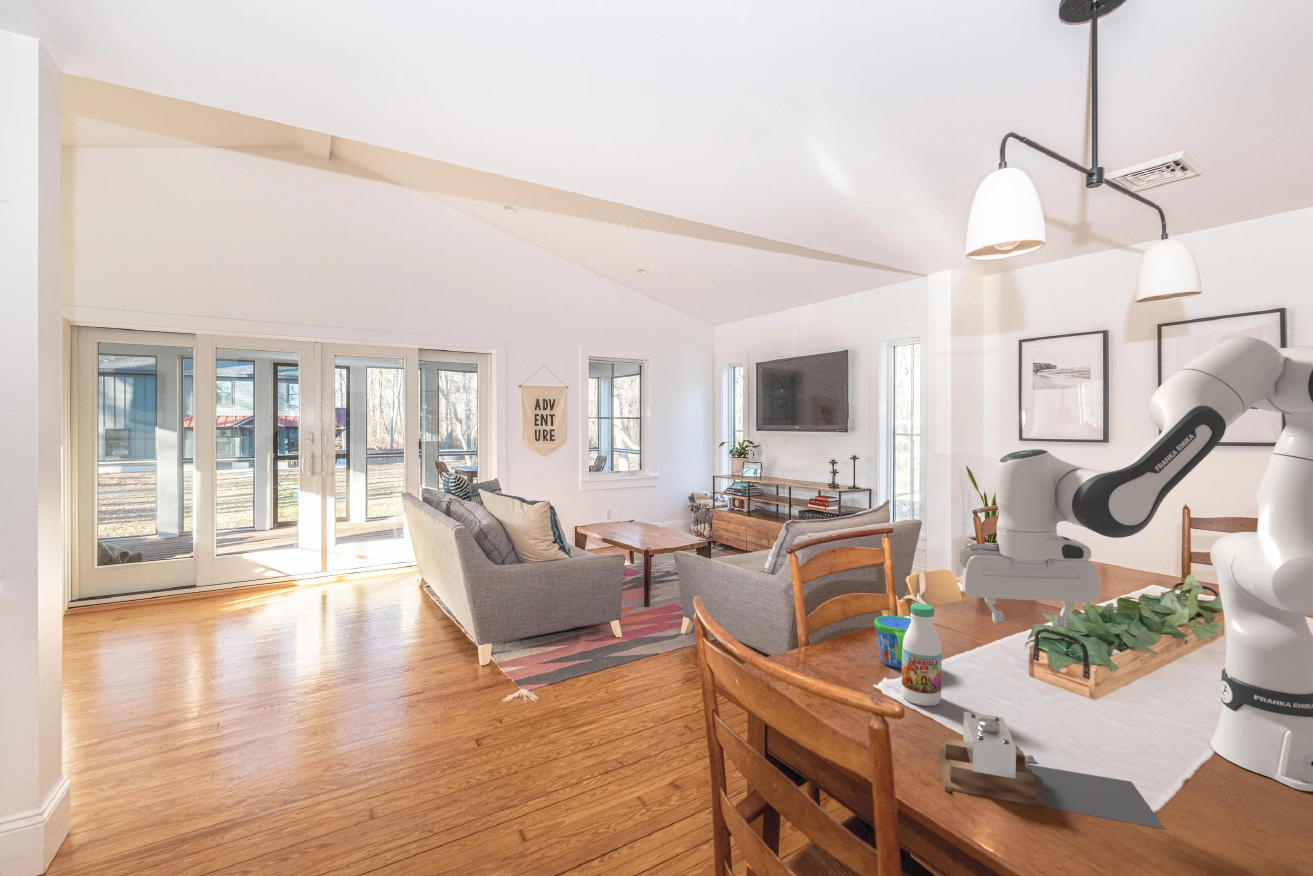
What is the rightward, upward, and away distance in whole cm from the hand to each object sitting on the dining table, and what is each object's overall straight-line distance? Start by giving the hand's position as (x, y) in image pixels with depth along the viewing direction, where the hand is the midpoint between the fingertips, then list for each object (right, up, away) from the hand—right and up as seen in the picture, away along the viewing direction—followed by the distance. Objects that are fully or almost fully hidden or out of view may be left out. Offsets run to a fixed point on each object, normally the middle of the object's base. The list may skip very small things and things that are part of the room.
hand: (1028, 624), depth 104 cm
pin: (-1, -24, +1) cm, 24 cm away
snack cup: (-6, -23, +43) cm, 49 cm away
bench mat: (+4, -25, -8) cm, 26 cm away
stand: (-9, -25, -4) cm, 26 cm away
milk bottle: (-8, -24, +24) cm, 35 cm away
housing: (-9, -21, -4) cm, 23 cm away
